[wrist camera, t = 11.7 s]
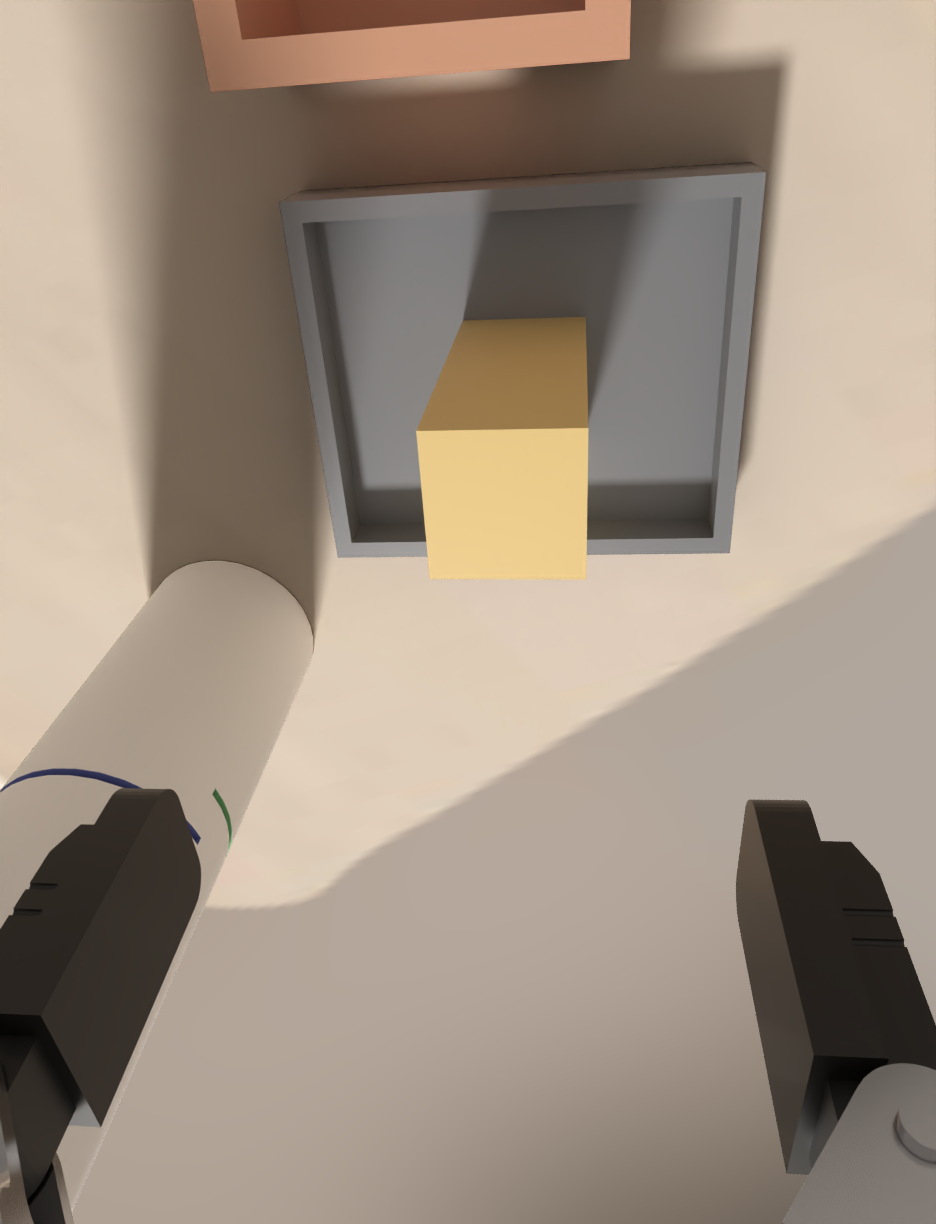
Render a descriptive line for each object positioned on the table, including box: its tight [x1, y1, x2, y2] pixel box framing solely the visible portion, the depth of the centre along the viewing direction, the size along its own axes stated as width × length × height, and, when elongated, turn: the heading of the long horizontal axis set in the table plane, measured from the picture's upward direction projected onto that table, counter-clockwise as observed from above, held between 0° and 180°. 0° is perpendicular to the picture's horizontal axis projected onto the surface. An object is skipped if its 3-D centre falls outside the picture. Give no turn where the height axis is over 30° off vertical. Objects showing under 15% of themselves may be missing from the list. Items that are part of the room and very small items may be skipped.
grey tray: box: [279, 162, 766, 558], centre depth 30 cm, size 14×12×2 cm
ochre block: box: [416, 317, 588, 579], centre depth 26 cm, size 4×4×10 cm
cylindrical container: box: [0, 561, 313, 1212], centre depth 28 cm, size 7×7×25 cm
